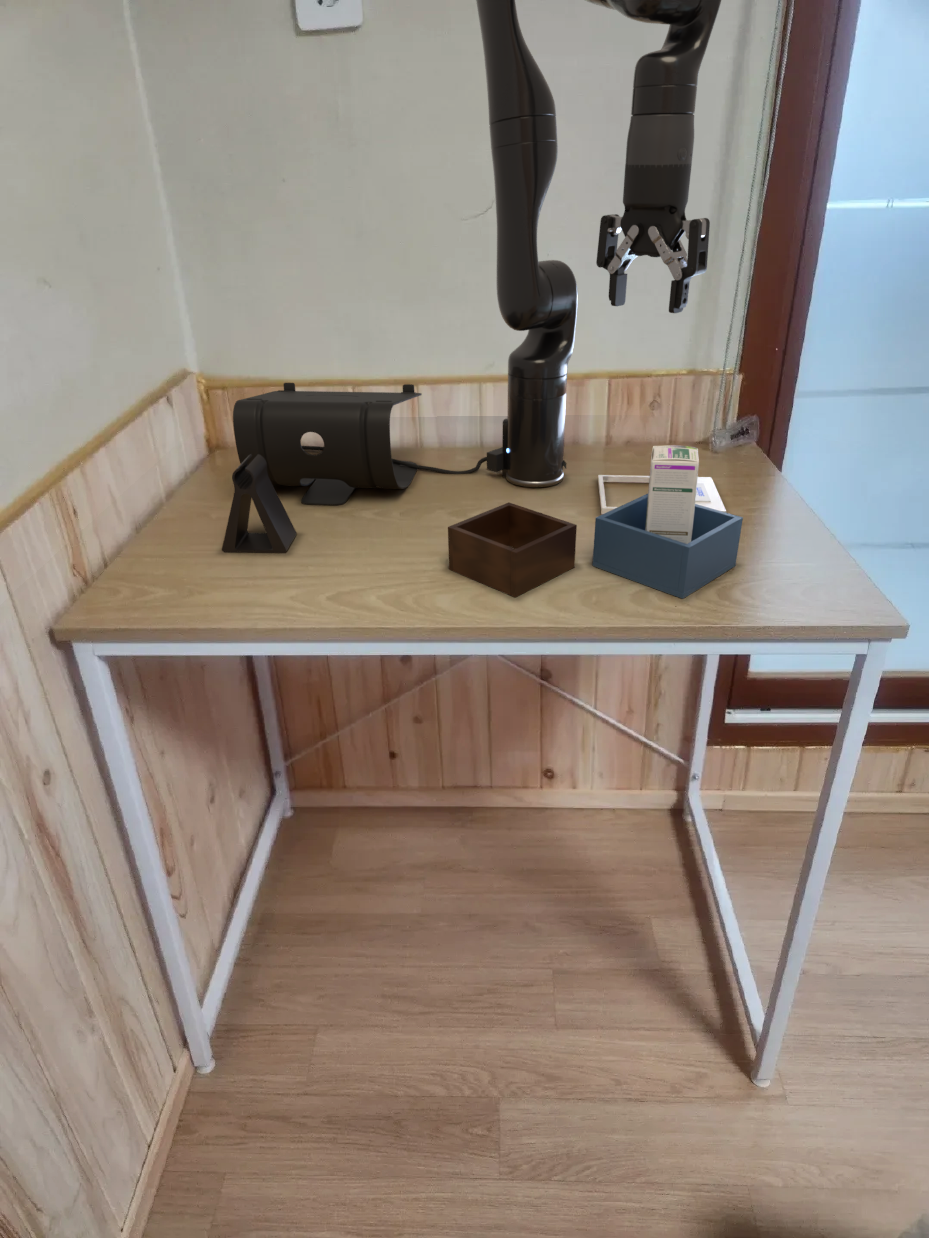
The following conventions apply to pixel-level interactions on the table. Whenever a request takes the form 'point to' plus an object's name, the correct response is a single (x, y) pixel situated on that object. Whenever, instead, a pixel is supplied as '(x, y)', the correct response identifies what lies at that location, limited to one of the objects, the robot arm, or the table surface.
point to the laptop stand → (346, 428)
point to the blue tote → (666, 548)
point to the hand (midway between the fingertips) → (645, 309)
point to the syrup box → (672, 491)
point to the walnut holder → (512, 571)
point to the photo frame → (704, 490)
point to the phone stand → (269, 507)
